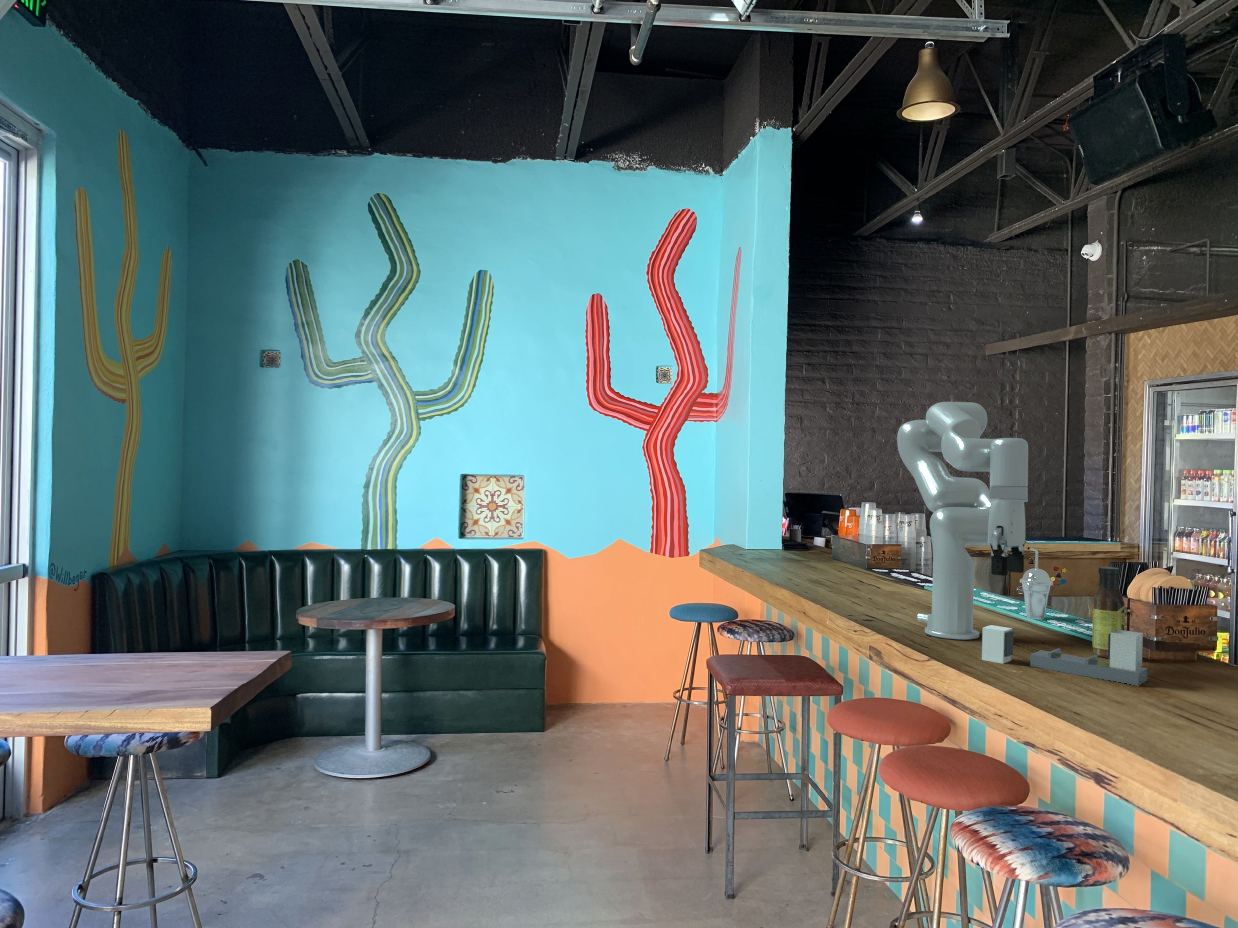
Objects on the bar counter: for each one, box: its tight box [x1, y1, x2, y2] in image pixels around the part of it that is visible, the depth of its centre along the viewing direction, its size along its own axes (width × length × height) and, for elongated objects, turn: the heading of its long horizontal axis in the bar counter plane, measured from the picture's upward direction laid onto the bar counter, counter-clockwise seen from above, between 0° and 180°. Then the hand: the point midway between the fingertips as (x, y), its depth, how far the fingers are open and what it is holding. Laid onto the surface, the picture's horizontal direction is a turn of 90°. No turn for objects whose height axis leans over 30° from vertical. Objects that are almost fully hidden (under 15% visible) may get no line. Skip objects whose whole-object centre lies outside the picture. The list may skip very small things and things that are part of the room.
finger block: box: [981, 624, 1015, 665], centre depth 182 cm, size 5×4×7 cm
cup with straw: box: [1018, 547, 1054, 621], centre depth 232 cm, size 8×9×20 cm
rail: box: [1029, 630, 1148, 687], centre depth 172 cm, size 20×6×10 cm, turn 44°
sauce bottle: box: [1092, 566, 1126, 659], centre depth 188 cm, size 7×6×20 cm
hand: (1007, 573), depth 182 cm, fingers open, 9 cm apart
